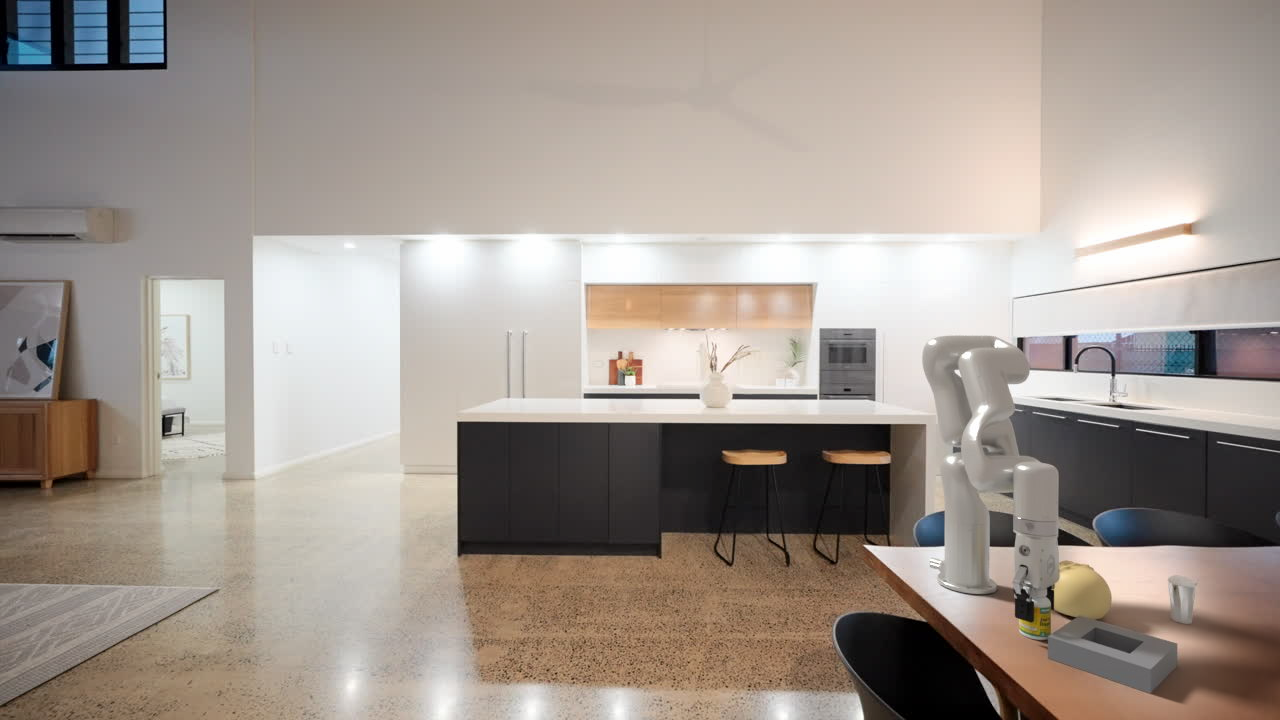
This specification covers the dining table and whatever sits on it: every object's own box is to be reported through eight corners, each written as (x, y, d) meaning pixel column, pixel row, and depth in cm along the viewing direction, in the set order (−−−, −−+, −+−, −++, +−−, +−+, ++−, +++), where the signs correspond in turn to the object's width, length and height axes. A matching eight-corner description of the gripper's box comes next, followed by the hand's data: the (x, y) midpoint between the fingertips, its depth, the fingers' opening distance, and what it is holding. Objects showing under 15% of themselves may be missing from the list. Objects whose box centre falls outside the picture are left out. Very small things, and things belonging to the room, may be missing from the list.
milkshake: (1194, 628, 127) (1195, 579, 127) (1163, 618, 132) (1163, 571, 132) (1205, 624, 130) (1206, 575, 129) (1173, 614, 134) (1174, 567, 134)
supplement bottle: (1027, 626, 129) (1027, 579, 129) (1056, 636, 124) (1056, 587, 124) (1013, 633, 126) (1013, 584, 126) (1042, 643, 121) (1043, 593, 121)
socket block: (1047, 658, 116) (1048, 636, 115) (1079, 635, 125) (1079, 615, 124) (1150, 693, 104) (1150, 669, 103) (1177, 666, 113) (1177, 643, 112)
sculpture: (1075, 600, 142) (1075, 552, 142) (1125, 623, 130) (1125, 571, 130) (1030, 604, 140) (1030, 555, 140) (1076, 627, 128) (1076, 574, 128)
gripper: (1037, 538, 116) (1036, 632, 117) (1074, 523, 127) (1073, 609, 127) (994, 529, 122) (994, 618, 123) (1033, 515, 133) (1032, 597, 133)
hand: (1034, 613), depth 125 cm, fingers open, 8 cm apart
